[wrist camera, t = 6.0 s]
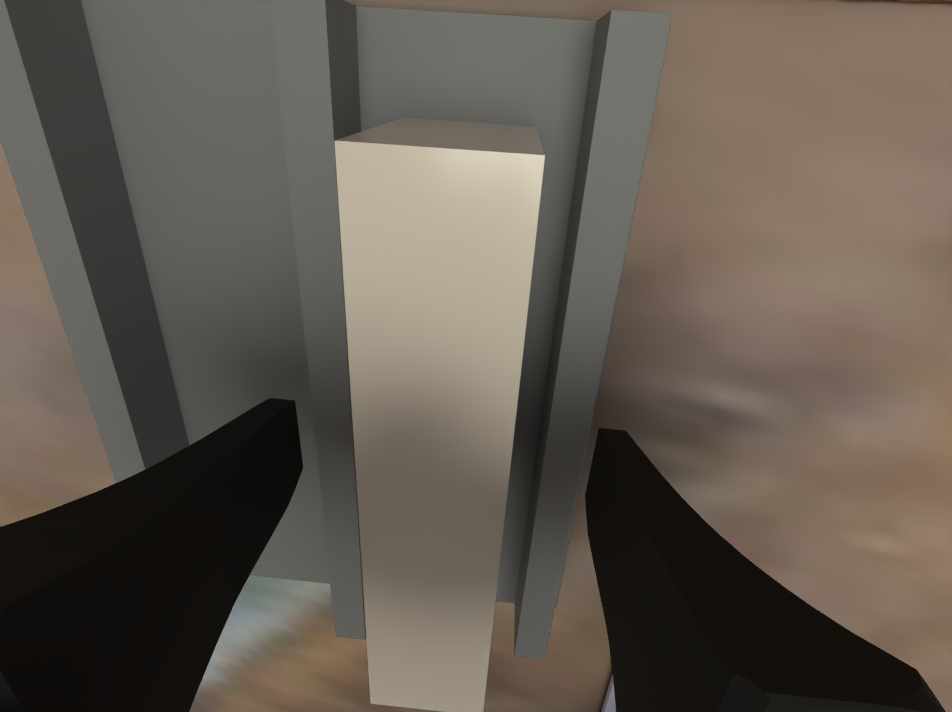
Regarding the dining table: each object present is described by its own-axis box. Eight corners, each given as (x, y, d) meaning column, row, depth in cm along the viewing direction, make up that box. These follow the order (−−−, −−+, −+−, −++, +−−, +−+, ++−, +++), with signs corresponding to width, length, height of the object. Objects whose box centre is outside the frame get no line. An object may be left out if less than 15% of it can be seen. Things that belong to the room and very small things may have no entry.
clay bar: (491, 563, 18) (482, 716, 14) (406, 554, 18) (370, 703, 14) (536, 126, 12) (545, 155, 7) (403, 117, 12) (334, 140, 8)
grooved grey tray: (554, 583, 20) (559, 661, 17) (195, 547, 21) (147, 616, 18) (659, 29, 12) (700, 15, 9) (47, -9, 12) (-85, -33, 10)
